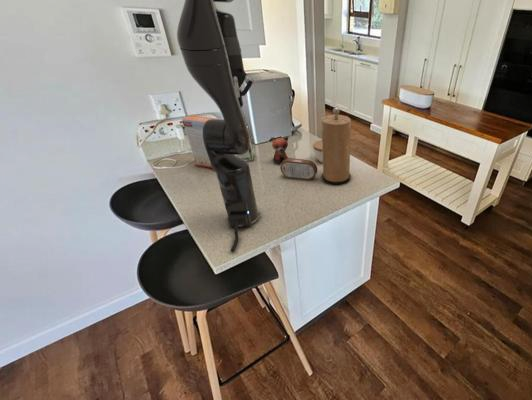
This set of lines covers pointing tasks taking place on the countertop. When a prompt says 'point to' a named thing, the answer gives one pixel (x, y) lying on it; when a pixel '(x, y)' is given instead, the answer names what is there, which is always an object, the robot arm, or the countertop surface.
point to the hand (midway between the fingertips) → (239, 107)
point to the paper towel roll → (336, 148)
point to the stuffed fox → (279, 148)
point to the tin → (298, 168)
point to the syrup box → (249, 154)
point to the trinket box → (318, 150)
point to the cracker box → (197, 138)
